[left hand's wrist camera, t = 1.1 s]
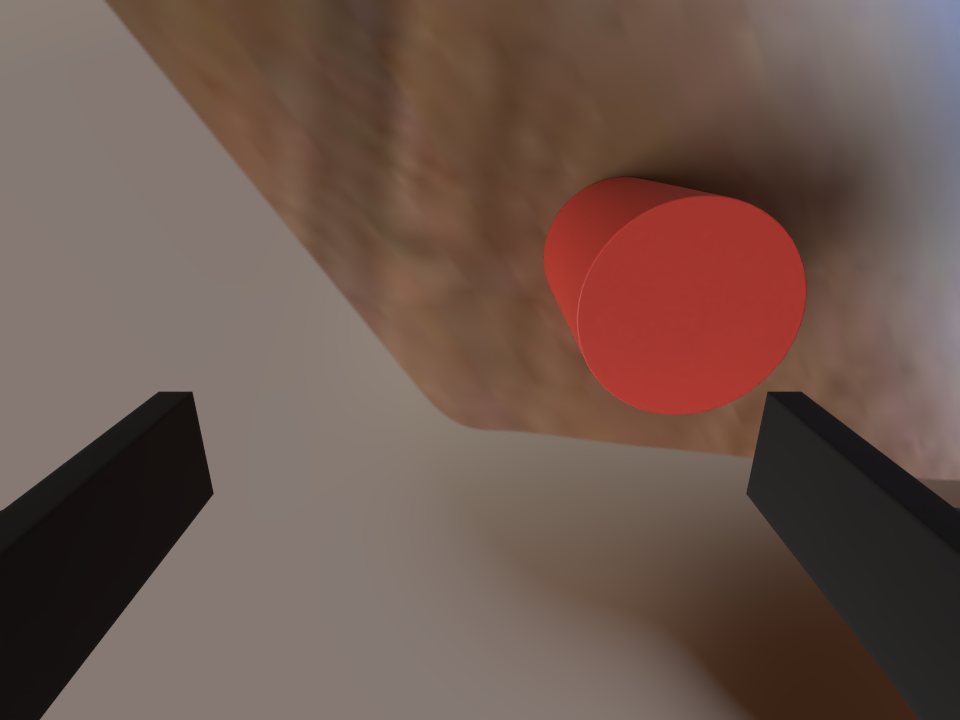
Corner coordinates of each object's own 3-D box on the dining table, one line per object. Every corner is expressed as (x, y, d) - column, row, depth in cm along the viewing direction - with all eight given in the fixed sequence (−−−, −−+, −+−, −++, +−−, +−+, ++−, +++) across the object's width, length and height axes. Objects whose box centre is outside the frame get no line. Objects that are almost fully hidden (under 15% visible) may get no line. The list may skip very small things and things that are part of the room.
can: (513, 244, 31) (531, 297, 21) (640, 142, 29) (734, 141, 19) (599, 353, 34) (655, 452, 23) (721, 265, 32) (846, 329, 21)
